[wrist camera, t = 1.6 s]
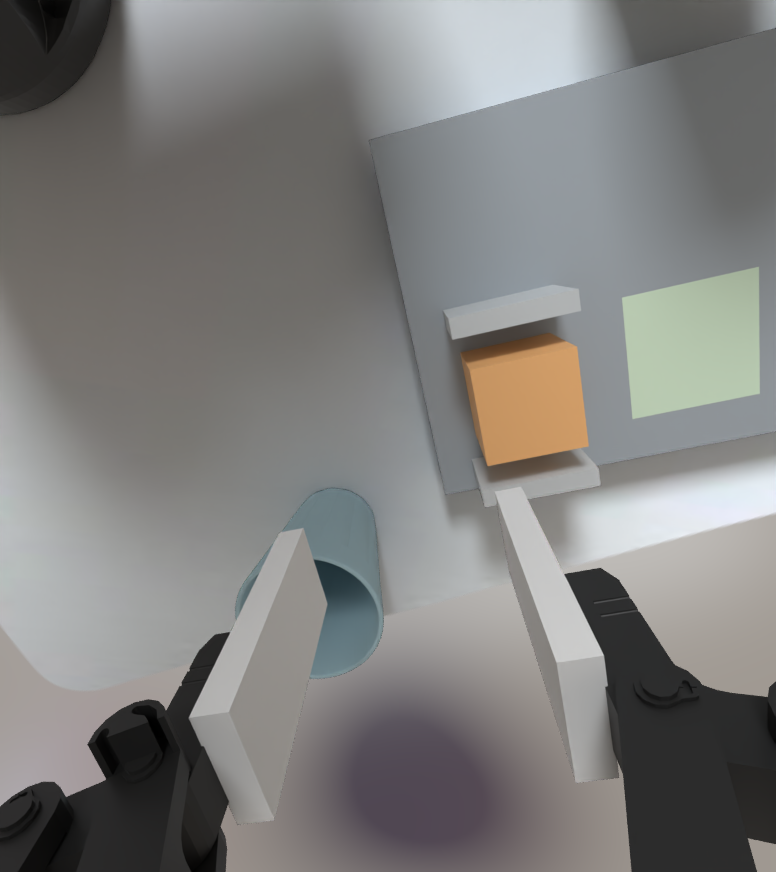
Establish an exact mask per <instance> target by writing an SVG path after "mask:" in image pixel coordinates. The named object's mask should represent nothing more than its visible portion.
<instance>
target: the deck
mask: <svg viewBox="0 0 776 872" xmlns="http://www.w3.org/2000/svg"><path fill="white" fill-rule="evenodd" d="M369 143H370V148H371V153H372V157H373V162H374V166H375V171H376V176H377V180H378V185H379V190H380V194H381V199H382V203H383V208H384V213H385V217H386V222H387V227H388V231H389V236H390V240H391V245H392V250H393V254H394V259H395V263H396V268H397V273H398V277H399V282H400V287H401V291H402V296H403V300H404V305H405V310H406V314H407V319H408V323H409V328H410V333H411V337H412V342H413V347H414V351H415V356H416V360H417V365H418V370H419V374H420V379H421V384H422V388H423V393H424V397H425V402H426V407H427V411H428V416H429V420H430V425H431V430H432V434H433V439H434V444H435V448H436V453H437V457H438V462H439V467H440V471H441V476H442V481H443V485H444V490H445V494H446V495H447V494H453V493H458V492H463V491H468V490H474V489H479V490H480V493H481V497H482V500H483V503H484V507H490V506H495V505H497V503H496V497H495V491H501V490H506V489H511V488H516V487H522V489H523V491H524V493H525V495H526V497H527V499H533V498H538V497H544V496H549V495H554V494H560V493H565V492H570V491H576V490H581V489H586V488H592V487H597V486H601V483H600V474H599V468H598V467H597V466H599V465H604V464H609V463H615V462H620V461H625V460H630V459H635V458H641V457H646V456H651V455H656V454H662V453H667V452H672V451H677V450H682V449H688V448H693V447H698V446H703V445H709V444H714V443H719V442H724V441H729V440H735V439H740V438H745V437H750V436H756V435H761V434H766V433H771V432H776V28H774V29H771V30H767V31H763V32H760V33H756V34H752V35H749V36H745V37H742V38H738V39H734V40H731V41H727V42H723V43H720V44H716V45H713V46H709V47H705V48H702V49H698V50H694V51H691V52H687V53H683V54H680V55H676V56H673V57H669V58H665V59H662V60H658V61H654V62H651V63H647V64H644V65H640V66H636V67H633V68H629V69H625V70H622V71H618V72H615V73H611V74H607V75H604V76H600V77H596V78H593V79H589V80H585V81H582V82H578V83H575V84H571V85H567V86H564V87H560V88H556V89H553V90H549V91H546V92H542V93H538V94H535V95H531V96H527V97H524V98H520V99H516V100H513V101H509V102H506V103H502V104H498V105H495V106H491V107H487V108H484V109H480V110H477V111H473V112H469V113H466V114H462V115H458V116H455V117H451V118H447V119H444V120H440V121H437V122H433V123H429V124H426V125H422V126H418V127H415V128H411V129H408V130H404V131H400V132H397V133H393V134H389V135H386V136H382V137H378V138H375V139H371V140H369ZM546 333H551V334H553V335H555V336H557V337H559V338H561V339H563V340H565V341H567V342H569V343H571V344H573V345H575V346H577V350H578V358H579V367H580V375H581V384H582V392H583V401H584V409H585V418H586V426H587V435H588V443H589V446H588V447H583V448H578V449H573V450H568V451H563V452H558V453H552V454H547V455H542V456H537V457H532V458H527V459H522V460H517V461H512V462H507V463H501V464H496V465H491V466H487V463H486V461H485V458H484V455H483V453H482V450H481V447H480V445H479V442H478V439H477V437H476V433H475V428H474V423H473V418H472V412H471V407H470V402H469V396H468V391H467V386H466V380H465V375H464V370H463V365H462V359H461V354H460V352H465V351H469V350H474V349H478V348H483V347H487V346H492V345H496V344H501V343H505V342H510V341H514V340H519V339H523V338H528V337H532V336H537V335H541V334H546Z"/></svg>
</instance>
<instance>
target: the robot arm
mask: <svg viewBox="0 0 776 872" xmlns="http://www.w3.org/2000/svg"><path fill="white" fill-rule="evenodd" d="M110 4H111V0H0V114H1V115H3V114H15V113H21V112H25V111H29V110H33V109H35V108H38V107H41V106H43V105H45V104H47V103H49V102H51V101H52V100H54V99H56V98H57V97H59V96H60V95H61V94H63V93H64V92H65V91H66V90H68V89H69V88H70V87H71V86H72V85H73V84H74V83H75V82H76V81H77V80H78V79H79V77H80V76H81V75H82V73H83V72H84V71H85V70H86V68H87V66H88V65H89V63H90V62H91V60H92V58H93V56H94V55H95V53H96V51H97V48H98V46H99V44H100V42H101V39H102V36H103V33H104V30H105V27H106V23H107V19H108V15H109V10H110ZM495 497H496V503H497V508H498V514H499V519H500V524H501V530H502V535H503V541H504V546H505V552H506V557H507V563H508V568H509V573H510V576H511V579H512V583H513V586H514V589H515V592H516V595H517V598H518V602H519V605H520V608H521V611H522V614H523V617H524V621H525V624H526V627H527V630H528V633H529V636H530V640H531V643H532V646H533V649H534V652H535V655H536V659H537V662H538V665H539V668H540V671H541V674H542V677H543V681H544V684H545V687H546V690H547V693H548V696H549V700H550V703H551V706H552V709H553V712H554V715H555V719H556V722H557V725H558V728H559V731H560V735H561V738H562V741H563V744H564V747H565V750H566V754H567V757H568V760H569V763H570V766H571V769H572V773H573V776H574V779H575V782H576V783H581V782H589V781H597V780H604V779H613V778H619V773H618V765H617V761H618V763H619V765H620V768H621V770H622V773H623V778H624V790H625V800H626V812H627V824H628V834H629V846H630V858H631V869H632V872H757V870H756V867H755V864H754V859H753V856H752V853H751V849H750V845H749V842H748V838H750V839H754V840H759V841H764V842H769V843H773V844H776V682H775V683H774V684H772V685H771V686H770V687H769V693H768V697H763V696H754V695H745V694H736V693H729V692H724V691H719V690H715V689H712V688H709V687H707V686H704V685H702V684H701V683H700V681H699V680H698V679H696V678H695V677H694V676H693V675H692V674H690V673H689V672H688V671H687V670H684V669H682V668H680V667H678V666H675V664H673V662H672V661H671V659H670V658H669V656H668V655H667V653H666V652H665V650H664V648H663V647H662V646H661V644H660V642H659V641H658V639H657V638H656V636H655V635H654V633H653V632H652V630H651V629H650V627H649V626H648V624H647V622H646V621H645V620H644V618H643V616H642V615H641V613H640V612H638V609H637V607H636V606H635V604H634V603H633V601H632V600H631V599H630V598H629V595H628V593H627V592H626V590H625V589H624V587H623V586H622V584H621V583H620V581H619V580H618V579H617V578H615V577H614V576H612V575H610V574H609V573H607V572H606V571H604V570H603V569H601V568H597V569H591V570H585V571H580V572H574V573H568V574H564V573H563V571H562V569H561V567H560V565H559V563H558V561H557V559H556V557H555V555H554V553H553V550H552V548H551V546H550V544H549V542H548V540H547V538H546V536H545V534H544V532H543V530H542V528H541V526H540V524H539V522H538V520H537V518H536V516H535V514H534V512H533V510H532V508H531V506H530V504H529V501H528V499H527V497H526V495H525V493H524V491H523V489H522V487H516V488H511V489H506V490H501V491H495ZM326 608H327V601H326V597H325V594H324V591H323V588H322V585H321V582H320V579H319V575H318V572H317V569H316V566H315V563H314V560H313V557H312V553H311V550H310V547H309V544H308V541H307V538H306V535H305V531H304V528H301V529H295V530H290V531H285V532H280V533H279V534H278V536H277V538H276V540H275V542H274V544H273V546H272V548H271V550H270V552H269V554H268V556H267V558H266V561H265V563H264V565H263V567H262V569H261V571H260V573H259V575H258V577H257V579H256V581H255V583H254V585H253V587H252V589H251V591H250V593H249V595H248V597H247V599H246V602H245V604H244V606H243V608H242V610H241V612H240V614H239V616H238V618H237V620H236V622H235V624H234V626H233V628H232V630H231V632H228V633H222V634H216V635H214V636H213V637H212V638H211V639H210V640H209V641H208V642H207V643H206V644H205V645H204V646H203V647H202V648H201V649H200V650H199V652H198V654H197V655H196V657H195V659H194V661H193V663H192V665H191V666H190V671H189V672H187V674H186V676H185V677H184V679H183V681H182V686H180V687H179V689H178V690H177V692H176V694H175V696H174V698H173V699H172V701H171V703H170V705H169V707H168V709H167V710H165V708H164V706H163V705H162V704H161V703H160V702H159V701H155V700H144V701H139V702H135V703H133V704H131V705H129V706H127V707H124V708H122V709H121V710H119V711H118V712H116V713H115V714H113V715H112V716H111V717H109V718H108V719H107V720H106V721H105V722H104V723H103V724H102V725H101V726H100V727H99V728H98V729H97V730H96V731H95V732H94V734H93V736H92V738H91V739H90V741H89V743H88V746H89V748H90V750H91V752H92V753H93V755H94V757H95V759H96V761H97V763H98V765H99V766H100V768H101V770H102V772H103V774H104V776H105V777H106V780H105V781H103V782H101V783H99V784H96V785H94V786H91V787H89V788H86V789H84V790H82V791H80V792H77V793H75V794H73V795H70V796H68V797H66V796H65V795H64V793H63V791H62V790H61V788H60V787H59V786H58V785H57V784H56V783H55V782H41V783H38V784H35V785H32V786H30V787H27V788H26V789H24V790H22V791H21V792H19V793H17V794H15V795H14V796H12V797H11V798H10V799H9V800H7V801H6V802H5V803H4V804H3V805H1V806H0V872H225V871H226V855H227V854H226V853H227V846H226V839H225V835H224V833H223V831H222V829H221V827H220V826H221V823H222V820H223V817H224V814H225V811H226V808H227V805H229V808H230V810H231V812H232V814H233V816H234V819H235V821H236V823H237V825H241V824H248V823H256V822H265V821H273V820H275V816H276V812H277V808H278V804H279V800H280V796H281V792H282V787H283V784H284V780H285V775H286V771H287V767H288V763H289V759H290V755H291V751H292V746H293V743H294V739H295V734H296V730H297V726H298V722H299V718H300V714H301V710H302V706H303V702H304V698H305V694H306V689H307V685H308V682H309V678H310V673H311V669H312V665H313V661H314V657H315V653H316V649H317V645H318V641H319V637H320V633H321V629H322V624H323V620H324V616H325V612H326Z"/></svg>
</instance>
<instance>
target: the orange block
mask: <svg viewBox="0 0 776 872" xmlns="http://www.w3.org/2000/svg"><path fill="white" fill-rule="evenodd" d="M460 354H461V359H462V365H463V370H464V375H465V380H466V386H467V391H468V396H469V402H470V407H471V412H472V418H473V423H474V428H475V433H476V437H477V439H478V442H479V445H480V447H481V450H482V453H483V455H484V458H485V461H486V463H487V466H491V465H496V464H501V463H507V462H512V461H517V460H522V459H527V458H532V457H537V456H542V455H547V454H552V453H558V452H563V451H568V450H573V449H578V448H583V447H588V446H589V443H588V435H587V426H586V418H585V409H584V401H583V392H582V384H581V375H580V367H579V358H578V350H577V346H575V345H573V344H571V343H569V342H567V341H565V340H563V339H561V338H559V337H557V336H555V335H553V334H551V333H546V334H541V335H537V336H532V337H528V338H523V339H519V340H514V341H510V342H505V343H501V344H496V345H492V346H487V347H483V348H478V349H474V350H469V351H465V352H460Z"/></svg>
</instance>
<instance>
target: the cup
mask: <svg viewBox="0 0 776 872" xmlns="http://www.w3.org/2000/svg"><path fill="white" fill-rule="evenodd" d="M301 528H304V531H305V535H306V538H307V541H308V544H309V547H310V550H311V553H312V557H313V560H314V563H315V566H316V569H317V572H318V575H319V579H320V582H321V585H322V588H323V591H324V594H325V597H326V601H327V608H326V612H325V616H324V620H323V624H322V629H321V633H320V637H319V641H318V645H317V649H316V653H315V657H314V661H313V665H312V669H311V673H310V678H309V679H321V678H330V677H335V676H339V675H342V674H345V673H347V672H349V671H351V670H353V669H355V668H357V667H358V666H359V665H361V664H362V663H364V662H365V661H366V660H367V659H368V658H369V657H370V656H371V654H372V653H373V652H374V651H375V649H376V647H377V646H378V644H379V641H380V639H381V636H382V632H383V623H384V620H383V619H384V618H383V605H382V594H381V586H380V574H379V562H378V550H377V537H376V527H375V521H374V515H373V512H372V510H371V509H370V507H369V506H368V504H367V503H366V502H365V501H364V500H363V499H362V498H361V497H360V496H358V495H356V494H354V493H353V492H351V491H348V490H344V489H336V488H330V489H325V490H322V491H319V492H316V493H314V494H313V495H311V496H310V497H309V498H308V499H307V500H306V501H305V502H304V503H303V504H302V505H301V507H300V508H299V509H298V511H297V512H296V513H295V515H294V516H293V517H292V519H291V520H290V521H289V523H288V524H287V525H286V527H285V528H284V529H283V531H282V532H285V531H290V530H295V529H301ZM273 544H274V543H273ZM273 544H272V546H273ZM272 546H271V547H270V548H269V550H268V551H267V552H266V554H265V555H264V556H263V558H262V559H261V560H260V562H259V563H258V564H257V566H256V567H255V568H254V570H253V571H252V572H251V574H250V575H249V576H248V578H247V579H246V580H245V582H244V583H243V585H242V587H241V589H240V591H239V594H238V597H237V601H236V608H235V614H236V620H237V618H238V616H239V614H240V612H241V610H242V608H243V606H244V604H245V602H246V599H247V597H248V595H249V593H250V591H251V589H252V587H253V585H254V583H255V581H256V579H257V577H258V575H259V573H260V571H261V569H262V567H263V565H264V563H265V561H266V558H267V556H268V554H269V552H270V550H271V548H272Z"/></svg>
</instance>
